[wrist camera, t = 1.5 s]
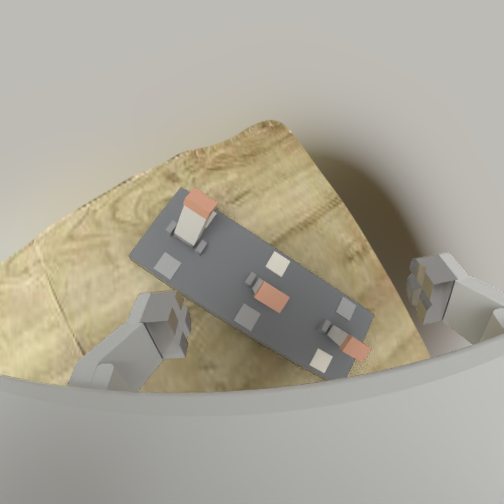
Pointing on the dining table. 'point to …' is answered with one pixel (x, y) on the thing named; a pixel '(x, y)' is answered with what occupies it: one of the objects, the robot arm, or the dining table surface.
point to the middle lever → (269, 295)
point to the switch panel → (242, 295)
